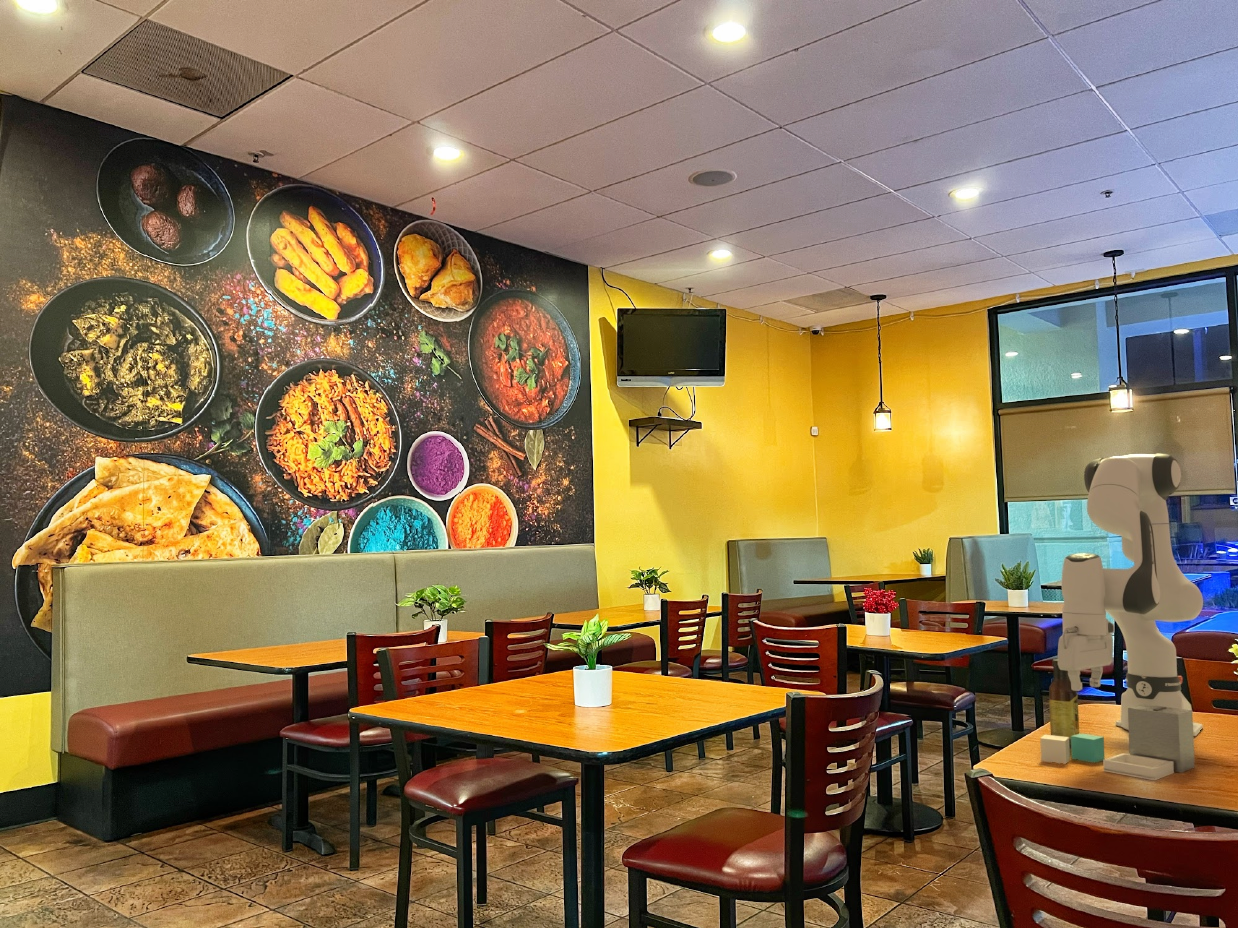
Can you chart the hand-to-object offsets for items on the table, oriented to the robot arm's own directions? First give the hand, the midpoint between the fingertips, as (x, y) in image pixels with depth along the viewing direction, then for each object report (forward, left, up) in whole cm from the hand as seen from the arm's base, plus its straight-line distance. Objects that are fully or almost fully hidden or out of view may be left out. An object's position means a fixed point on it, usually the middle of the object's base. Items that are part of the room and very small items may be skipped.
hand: (1086, 688), depth 209 cm
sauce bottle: (-11, -10, -16) cm, 22 cm away
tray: (+4, +12, -15) cm, 20 cm away
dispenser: (-6, +13, -15) cm, 21 cm away
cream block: (+7, -4, -16) cm, 18 cm away
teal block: (0, 0, -16) cm, 16 cm away
